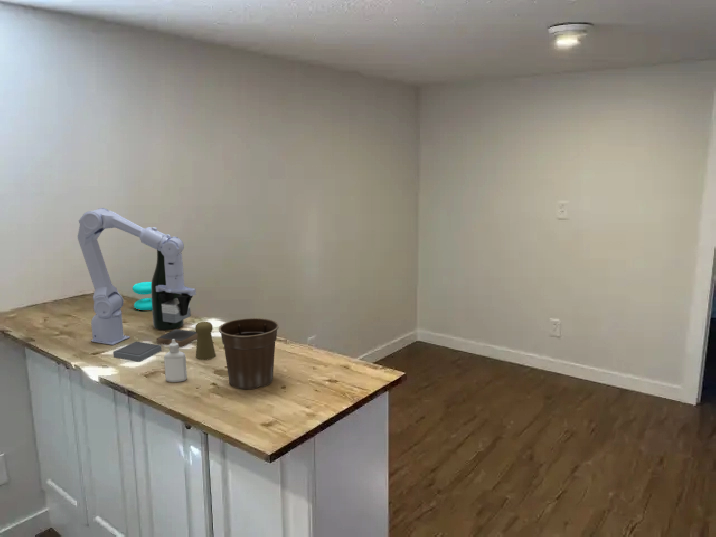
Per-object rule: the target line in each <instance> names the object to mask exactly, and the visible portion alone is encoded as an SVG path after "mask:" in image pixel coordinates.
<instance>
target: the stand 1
mask: <svg viewBox="0 0 716 537" xmlns="http://www.w3.org/2000/svg"><path fill="white" fill-rule="evenodd" d="M162 349H163V348H162V344H161V345H160V344H157V343H156V344H154V343H147V342H143V341H134V342H132V343H130V344H128V345H125V346H123V347H121V348H118V349H117V350H114V351H113V358H114V359H115V358H116V359H120V360H121V359H122V360H127V361H134V362H138V363H139V362H140V363H141V362H142V361H144V360H146V359H148V358H150V357H151V356H153V355H156V354H158V353H160V352H162Z"/></svg>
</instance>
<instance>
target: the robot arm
mask: <svg viewBox="0 0 716 537" xmlns="http://www.w3.org/2000/svg"><path fill="white" fill-rule="evenodd" d="M78 224H79V228H78V232H77V241H78V244H79V247H80V249H81V252H82V255H83V259H84V261H85V264H86V267H87V271H88V273H89V277H90V280H91V282H92V285H93V287H94V292H93V296H92V300H93V311H94V313H95V315H93V317H92V319H91V322H90V325H91V331H92V334H91V335H92V339H91V340H90V341H92V343H99V344H105V345H111V346H114V345H116V344H118V343H121V342H123V341H126V340H128V339H130V336H129V335H125V334H124V325H123V315H122V310H121V308H122V307H123V306H124V302H125V300H124V298H123V296H122V295H121V294H120V293H119V291H118V288H117V287H116V286H115V285H113V283H112V281H111V278H110V275H109V272H108V268H107V266H106V262H105V259H104V257H103V253H102V250H101V247H100V244H99V241H98V238H99V237H100V235H101V234H102V233H103V231H104V230H105V229H113V228H115V229H118V230H121V231H122V232H125V233H127V234H130V235H133V236H135V237H138V238H139V240H140V242H141V243H142V244H144V245H146V246H148V247H151V248H153V249H155V250H156V251H157V250H159V251H161V253H162V254H163V255H164V263H165V277H166V285H158V286H156V292H161V294H159V297H160V298H161V300H162V301H163V303H165V302H168V301H170V300H173V299H174V293H177V294H181V295H180V296H177V298H178V301H179V304H180V310H181V315H182V316H185V315H187V311H188V306H189V303H190V304H191V300H192V298H193V297H194V296H196V295H197V292H196V291H197V290H196V288H194V287H193V288H192V287H189V286H185V276H184V261H183V250H184V248H185V247H184V246H185V244H184V242H183V240H182V239H181V238H179V237H178V236H171V234H169V233H167V234H165V233H163V232H161V231H159V230H158V227H156V226H153V227H151V226H147V227H142V226H140V225H138V224H137V223H135V222H133V221H131V220H129V219H127V218H126V217H124V216H122V215H120V214H118V213H117V212H115V211H113V210H109V209H107V208H105V207H100V208H97V209H94V210H88V211H86V212H84V213H83V214H82V216H80V218H79V220H78Z"/></svg>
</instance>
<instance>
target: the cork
mask: <svg viewBox="0 0 716 537" xmlns="http://www.w3.org/2000/svg"><path fill="white" fill-rule="evenodd" d="M213 327H214V326H213V324H212V323H211V322H209V321H199V322H197V323H196V324H195V328H194V330H195V332H196V333H197V340H196V347H195V348H196V349H195V359H196V360H199V361H207V359H208V360H211V359H214V358H215V357H216V351H215V346H214V341H213V336H212V332H213Z"/></svg>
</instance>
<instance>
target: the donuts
mask: <svg viewBox="0 0 716 537" xmlns="http://www.w3.org/2000/svg"><path fill="white" fill-rule="evenodd" d="M151 283H152V281H143V282H142V281H141V282H137V283H135V284H134V285H133V286H132V292H134V294H137V295H141V296H143V295H145V296H146V295H151ZM133 308H134V309H135V308H136V309H140V310H150V311H152V297H145V298H140V299H138V300H136V301H135V302H134V303H133ZM136 309H135V310H136Z"/></svg>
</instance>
